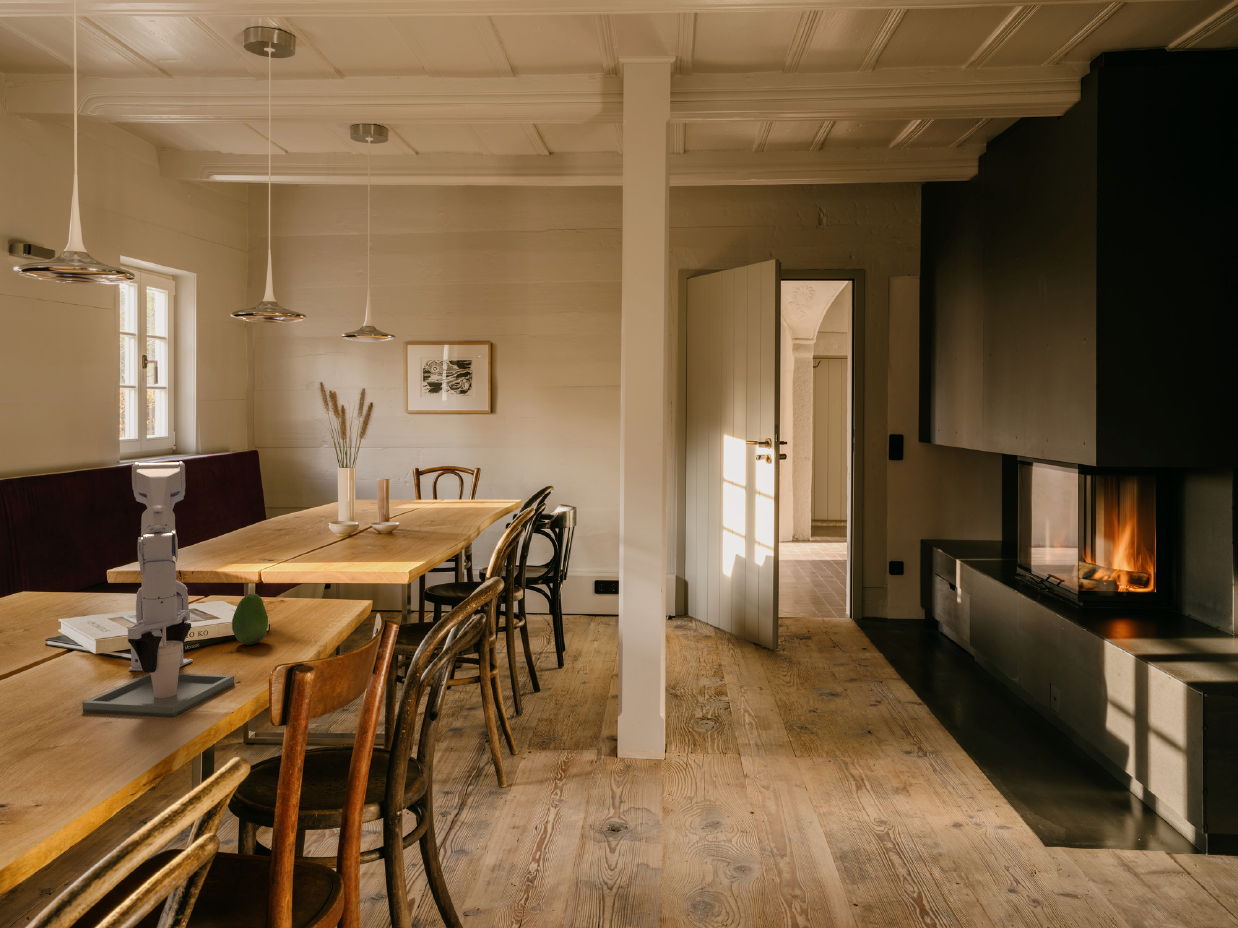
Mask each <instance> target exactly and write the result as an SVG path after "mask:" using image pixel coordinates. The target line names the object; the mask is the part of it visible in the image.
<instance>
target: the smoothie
mask: <svg viewBox="0 0 1238 928" xmlns="http://www.w3.org/2000/svg"><path fill="white" fill-rule="evenodd" d="M162 633H163V641H161V642H160V644H159V647H158V652H157V666H156V671H155V672H153V673H151V679H152V685H153V691H154V696H155V697H156V698H167V697H171V696H174V695H176V694H177V685H178V676H179V673H180V667H179V666H180V658H181V650H182V649H183V650H184V644H183V643H182V642H181V641H166V626H163V627H162Z"/></svg>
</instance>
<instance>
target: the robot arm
mask: <svg viewBox="0 0 1238 928" xmlns="http://www.w3.org/2000/svg"><path fill="white" fill-rule="evenodd" d="M131 485H132V490H133V495H134V498H135V501H136V502H139V503H141V504H144V505H145V506H146V509H145V510H144V511H143V512H142V514H141V524H140V525H141V526H140V528H141V529H140V530H141V531H140V536H139V537H138V539H137V560H138V563H139V570H140V571H139V572H140V573H139V574H140V575H141V577H140V578H141V587H139V588H138V590H137V592H136V601H135V617H136V618H135V619H136V624H135V625H133V626H131V627H128V628H127V643H129V645H130V656H131V657H130V660H131V666H130V667H128V671H139V672H140V671H141V672H143V673H153V672H155V671H156V666H157V652H158V647H159V644H160V642H161V641H163V633H162V627H163V626H166V641H181V642H182V643H183V645H184V644H185V641H186V639H187V636H188V635H189V632H190V631H191V629H192V623H191V622H188V621H190V620H191V614H190V613H191V611H190V607H189V594H188V587H187V585H186V584H184V583H183V582H181V581H179V580H177V565H176V564H177V561H178V558H179V547H178V546H179V545H178V543H179V541H178V536H177V529H176V515H175V512H174V511H173V509H174V506H175V505H176V503H178V502H180V501H182V500H184V499H185V498H184V496H185V495H186V491H185V490H186V465H185V463H184V462H183V461H179V462H178V461H175V462H172V461H171V462H137V461H136V462H134V463H133V464H131ZM173 557H174V558H175V561H174V559H173ZM193 660H194V659H192V658H184V648H183V649H182V650H181V658H180V666H179V668H182V667H183V666H185V665H188V664H190V663H191V662H192V663H193Z"/></svg>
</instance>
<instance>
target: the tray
mask: <svg viewBox="0 0 1238 928" xmlns="http://www.w3.org/2000/svg"><path fill="white" fill-rule="evenodd" d="M234 685H235V675H226V674H225V675H224V674H203V673H202V674H201V673H183V672H182V673H181V672H179V676H178V685H177V694H176V695H174V696H171V697H167V698H156V697H155V696H154V691H153V685H152V679H151V673H149V672H147V673H146V674H144V675H141V676H140V677H138V678H135V679H133V680H131V681H128V682H125V683H124V684H122V685H120V686H119V685H118V686H116V687H115V688H111V689H110V690H108V691H105V692H102V693H101V694H99V695H97V696H95V697H91V698H89V699H87V700H85V701H82V712H83V713H93V714H109V715H110V714H113V715H127V716H128V715H130V716H131V715H132V716H143V717H144V716H146V717H166V718H167V717H168V718H175V717H177V716H178V715H180V714H182V713H184V712H186V711H188V710H190V709H191V708H193V707H195V706H197V705H199V704H200V703H202V702H204V701H206V700H208V699H210V698H213V696H216V695H217V694H219V693H221V692H224V691H225V690H227V689H229V688H230V686H231V687H233V686H234Z"/></svg>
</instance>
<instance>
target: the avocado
mask: <svg viewBox="0 0 1238 928" xmlns="http://www.w3.org/2000/svg"><path fill="white" fill-rule="evenodd" d="M268 627H269V615H268V613H267V610H266V607H265V605H264V601H263V599H262V598H261V597H260V595H259V594H258V593H249V594H246V595H245V596H244V597H242V598H241V599H240V601H239V602H238V604H237V606H236V609H235V610H234V614H233V617H232V620H231V629H232V632H233V636H234V637H235V638H236V640H237V641H238V642H240V643H242V644H245V645H248V646H252V645H255V644H257V643H259V642H260V641H262V640H263V639H264V638H265V636H266V634H267V631H268Z"/></svg>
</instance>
